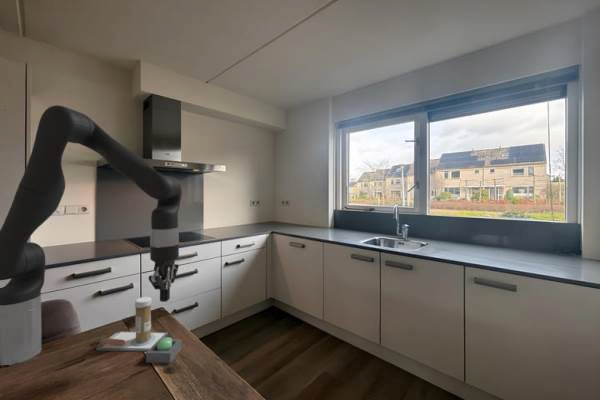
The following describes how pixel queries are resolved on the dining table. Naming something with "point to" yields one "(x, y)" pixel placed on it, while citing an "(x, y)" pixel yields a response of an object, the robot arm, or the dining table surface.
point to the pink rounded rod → (112, 341)
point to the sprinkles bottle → (143, 319)
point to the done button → (164, 344)
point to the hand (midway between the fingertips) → (164, 300)
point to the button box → (163, 353)
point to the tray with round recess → (132, 342)
